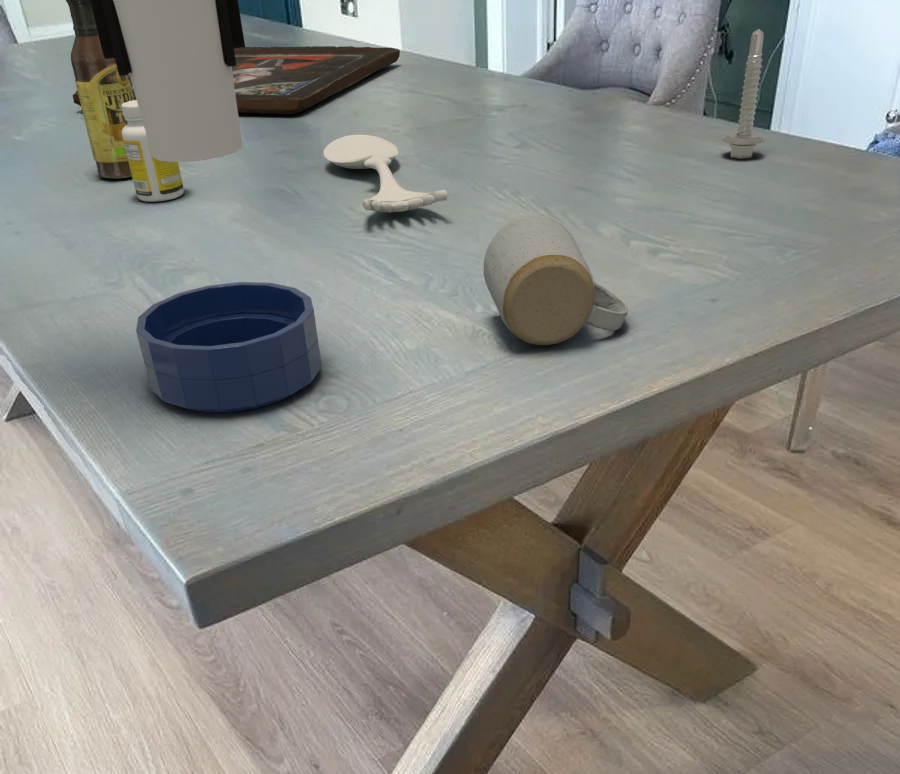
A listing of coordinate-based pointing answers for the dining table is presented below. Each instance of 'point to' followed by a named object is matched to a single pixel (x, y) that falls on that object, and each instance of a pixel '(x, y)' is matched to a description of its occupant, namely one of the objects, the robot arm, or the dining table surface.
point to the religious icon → (297, 75)
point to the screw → (748, 104)
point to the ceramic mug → (546, 283)
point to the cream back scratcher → (378, 156)
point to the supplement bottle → (148, 161)
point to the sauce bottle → (99, 93)
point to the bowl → (230, 346)
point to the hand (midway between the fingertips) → (178, 64)
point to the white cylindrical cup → (180, 78)
